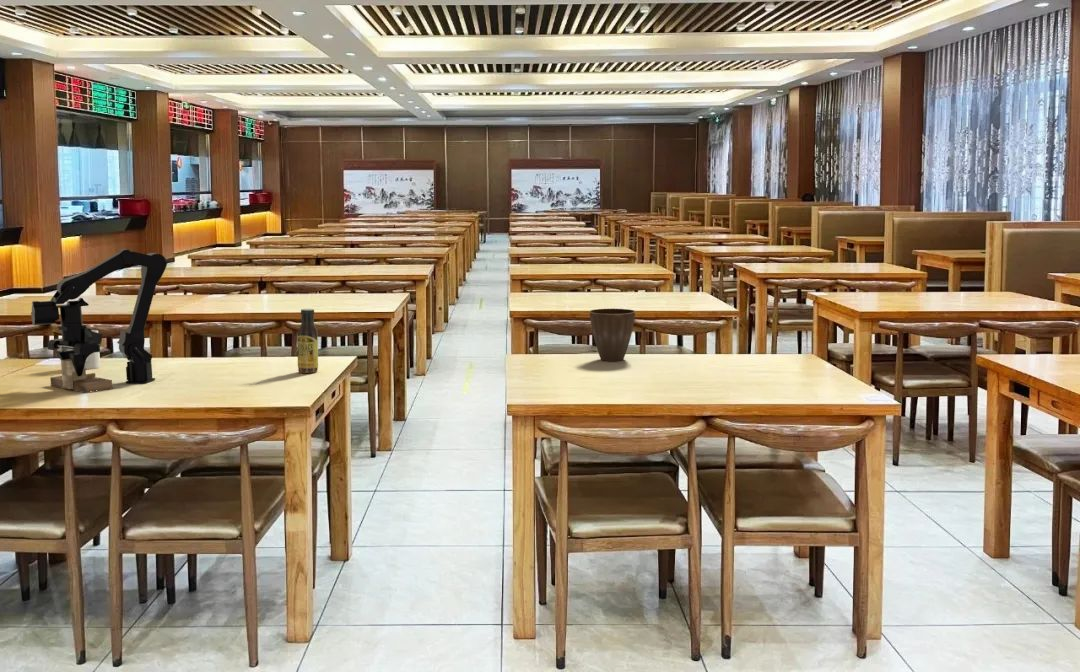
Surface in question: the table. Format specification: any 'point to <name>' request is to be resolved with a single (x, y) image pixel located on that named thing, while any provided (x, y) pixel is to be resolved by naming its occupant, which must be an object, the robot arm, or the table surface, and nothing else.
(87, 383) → the walnut board
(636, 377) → the table surface
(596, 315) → the plant pot
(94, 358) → the mug
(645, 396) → the table surface
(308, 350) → the sauce bottle
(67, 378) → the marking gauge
